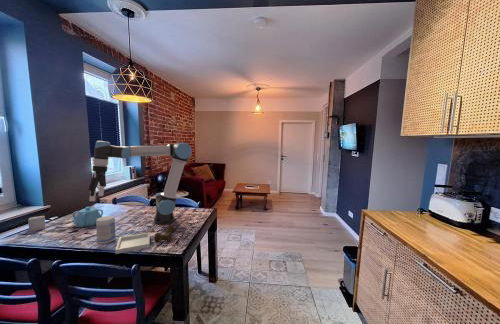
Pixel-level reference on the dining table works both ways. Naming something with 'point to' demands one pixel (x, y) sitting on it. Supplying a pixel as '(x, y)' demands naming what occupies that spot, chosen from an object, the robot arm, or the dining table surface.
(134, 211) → the dining table surface
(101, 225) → the supplement tub
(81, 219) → the decorative pot
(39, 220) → the medicine box
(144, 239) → the sage tray
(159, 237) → the kendama
